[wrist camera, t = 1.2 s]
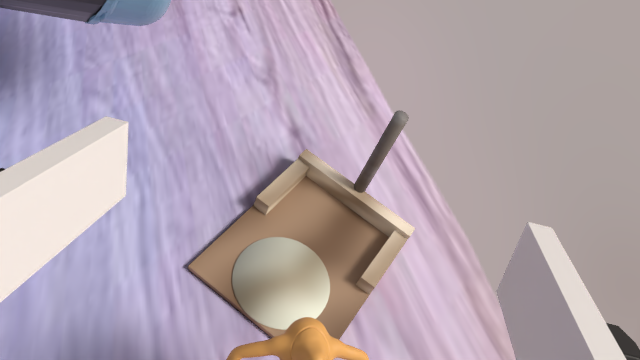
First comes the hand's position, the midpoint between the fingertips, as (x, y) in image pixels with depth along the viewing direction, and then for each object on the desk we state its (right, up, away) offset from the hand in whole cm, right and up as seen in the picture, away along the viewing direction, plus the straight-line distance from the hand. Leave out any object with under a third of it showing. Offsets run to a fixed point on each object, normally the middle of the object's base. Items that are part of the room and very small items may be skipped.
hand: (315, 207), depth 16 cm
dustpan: (-1, -5, +21) cm, 22 cm away
